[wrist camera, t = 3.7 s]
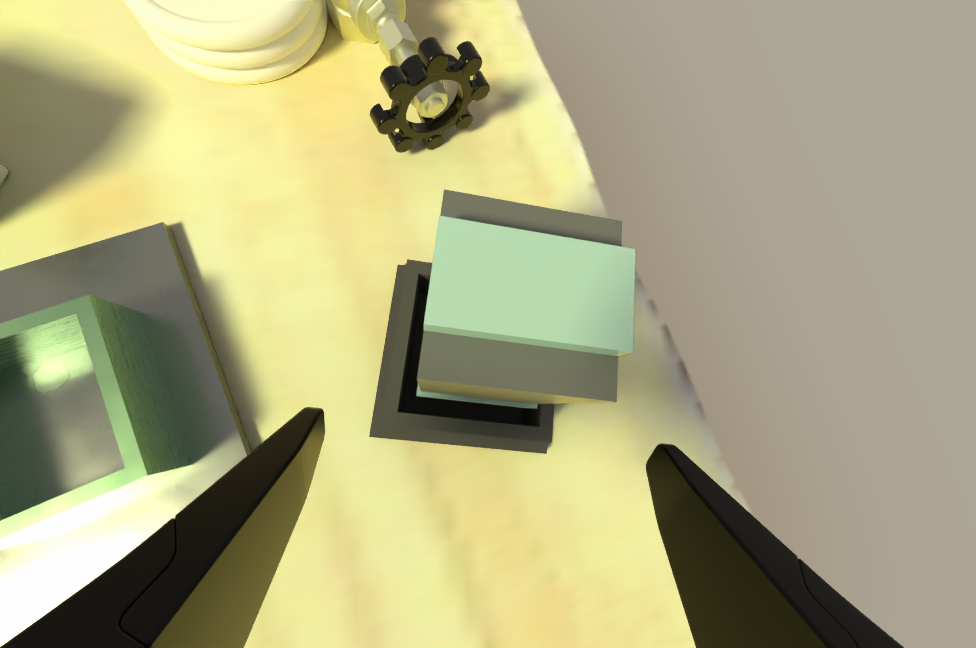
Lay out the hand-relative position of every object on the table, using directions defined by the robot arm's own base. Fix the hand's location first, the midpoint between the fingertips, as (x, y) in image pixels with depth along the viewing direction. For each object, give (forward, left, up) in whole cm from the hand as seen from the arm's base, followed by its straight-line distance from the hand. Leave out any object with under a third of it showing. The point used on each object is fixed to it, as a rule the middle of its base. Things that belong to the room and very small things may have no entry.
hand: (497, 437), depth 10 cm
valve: (+22, 0, -11) cm, 24 cm away
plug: (+3, -1, -10) cm, 10 cm away
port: (+4, +17, -11) cm, 20 cm away
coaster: (+26, +8, -11) cm, 30 cm away
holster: (+3, -1, -11) cm, 11 cm away
